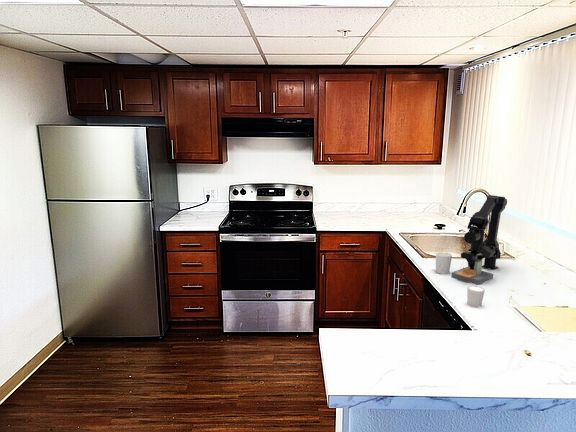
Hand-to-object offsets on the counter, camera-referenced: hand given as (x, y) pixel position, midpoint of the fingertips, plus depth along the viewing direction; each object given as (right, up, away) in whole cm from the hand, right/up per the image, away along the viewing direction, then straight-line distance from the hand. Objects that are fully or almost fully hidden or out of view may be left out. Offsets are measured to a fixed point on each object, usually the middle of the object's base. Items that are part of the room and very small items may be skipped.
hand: (474, 269), depth 207 cm
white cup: (-13, -3, +8) cm, 16 cm away
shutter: (-6, -2, -4) cm, 8 cm away
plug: (0, -2, 0) cm, 2 cm away
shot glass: (-15, -11, -32) cm, 37 cm away
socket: (-1, -4, 0) cm, 4 cm away
